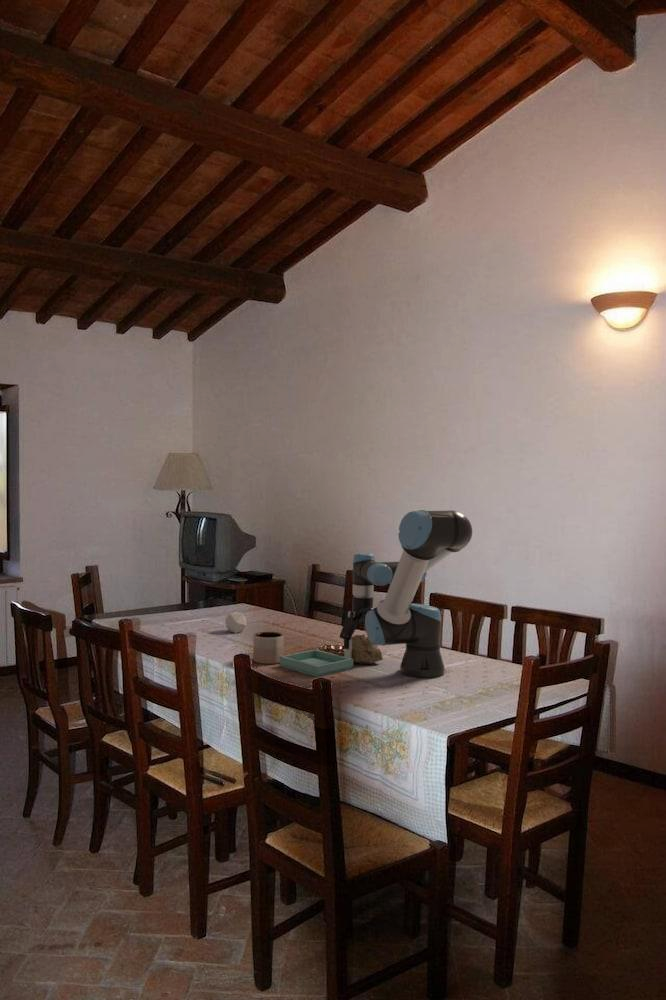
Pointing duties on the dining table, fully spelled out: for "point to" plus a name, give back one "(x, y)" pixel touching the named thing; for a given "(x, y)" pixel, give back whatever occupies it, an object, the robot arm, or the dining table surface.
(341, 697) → the dining table surface
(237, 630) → the die
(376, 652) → the rock
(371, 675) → the dining table surface
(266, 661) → the planter
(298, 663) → the glazed dish
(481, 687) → the dining table surface
